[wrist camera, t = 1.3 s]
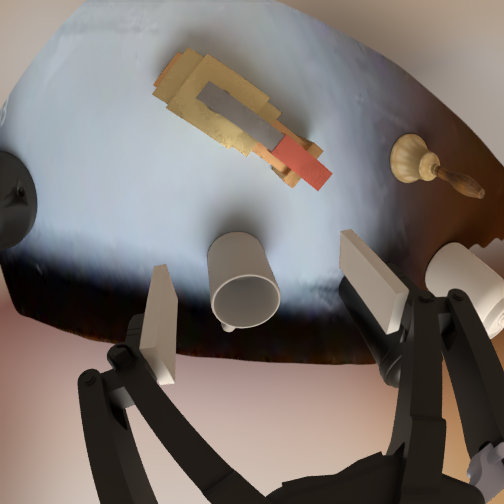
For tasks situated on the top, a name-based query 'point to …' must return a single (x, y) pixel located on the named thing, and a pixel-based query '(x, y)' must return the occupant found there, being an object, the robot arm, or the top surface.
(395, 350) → the water bottle
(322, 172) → the lever
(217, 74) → the valve
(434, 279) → the white lidded jar
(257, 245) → the mug
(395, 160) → the hand bell
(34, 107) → the top surface
